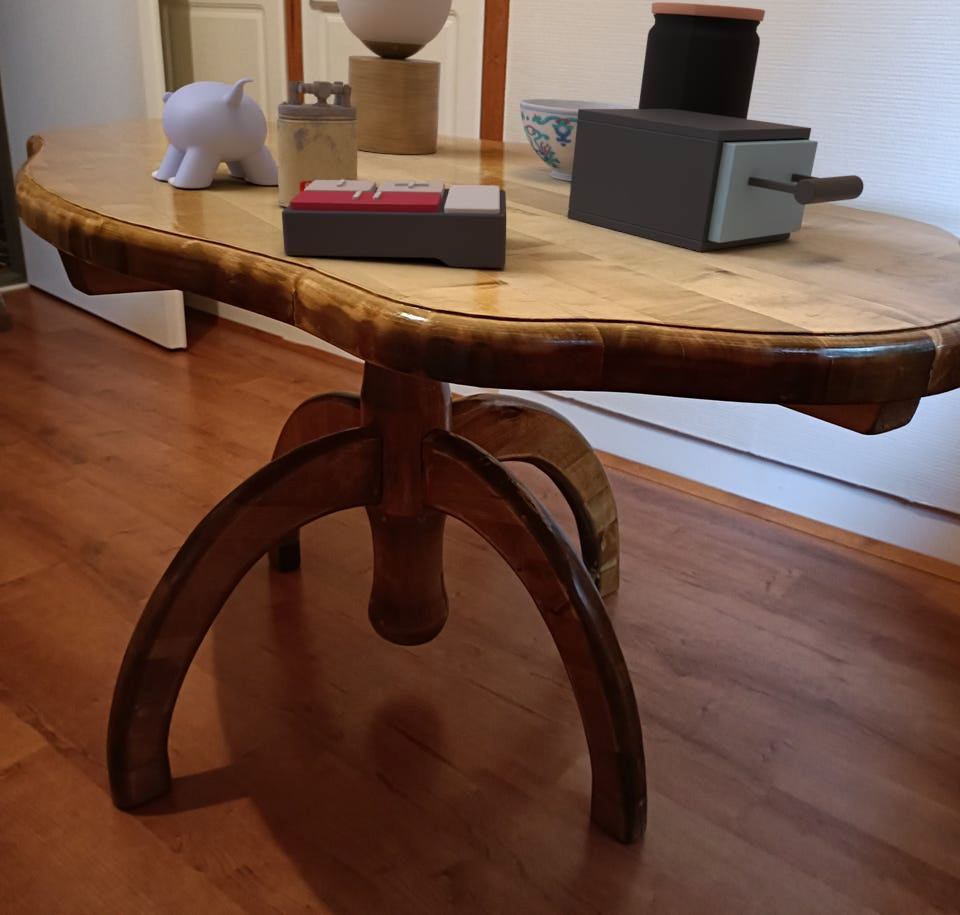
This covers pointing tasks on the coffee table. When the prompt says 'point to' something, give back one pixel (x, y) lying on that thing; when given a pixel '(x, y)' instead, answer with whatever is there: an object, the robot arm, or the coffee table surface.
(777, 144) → the grey drawer
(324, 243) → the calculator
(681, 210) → the drawer cabinet
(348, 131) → the lighter
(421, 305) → the coffee table surface
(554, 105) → the chinaware
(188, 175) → the hippopotamus toy
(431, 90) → the lamp
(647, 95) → the coffee jar
